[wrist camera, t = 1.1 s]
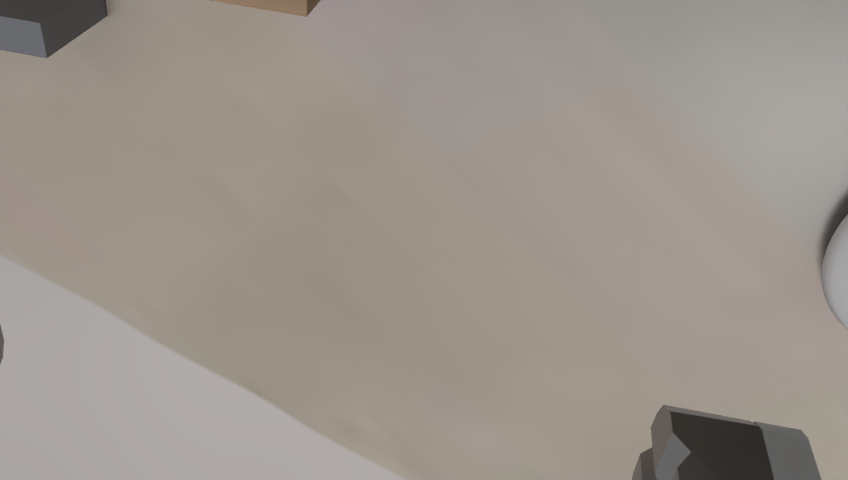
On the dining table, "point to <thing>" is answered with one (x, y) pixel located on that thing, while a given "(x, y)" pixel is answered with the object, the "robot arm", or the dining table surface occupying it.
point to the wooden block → (278, 5)
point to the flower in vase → (837, 273)
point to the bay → (45, 24)
